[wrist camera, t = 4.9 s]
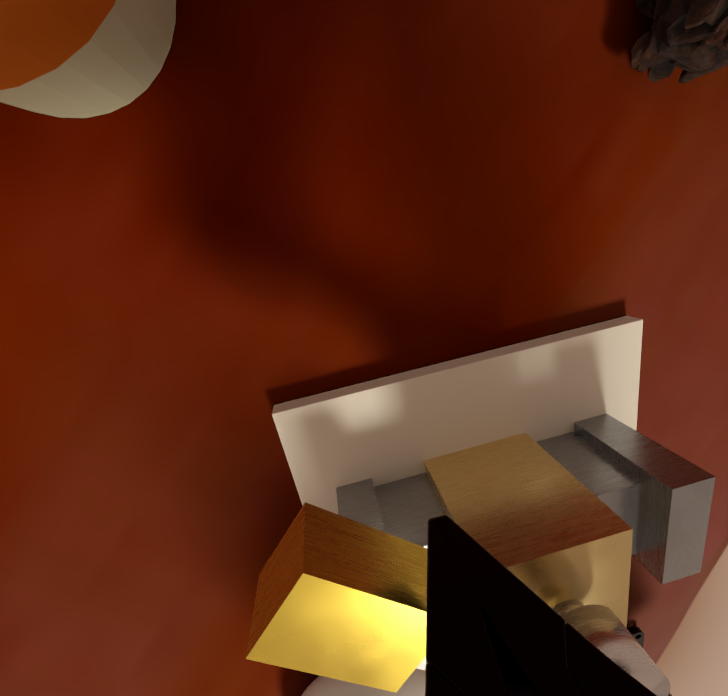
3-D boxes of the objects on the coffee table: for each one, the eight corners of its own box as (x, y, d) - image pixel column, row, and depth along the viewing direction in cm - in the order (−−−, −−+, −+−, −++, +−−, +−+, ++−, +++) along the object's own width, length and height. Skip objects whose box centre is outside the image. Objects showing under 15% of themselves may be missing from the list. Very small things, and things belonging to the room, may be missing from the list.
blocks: (603, 492, 21) (729, 600, 15) (358, 565, 20) (379, 715, 14) (606, 410, 19) (750, 493, 13) (335, 484, 18) (347, 615, 12)
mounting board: (617, 520, 24) (629, 531, 23) (339, 603, 22) (340, 619, 21) (626, 315, 19) (643, 319, 18) (274, 405, 18) (271, 414, 17)
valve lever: (615, 597, 13) (694, 689, 11) (567, 649, 14) (631, 750, 11) (309, 473, 10) (307, 565, 7) (260, 551, 10) (241, 665, 7)
